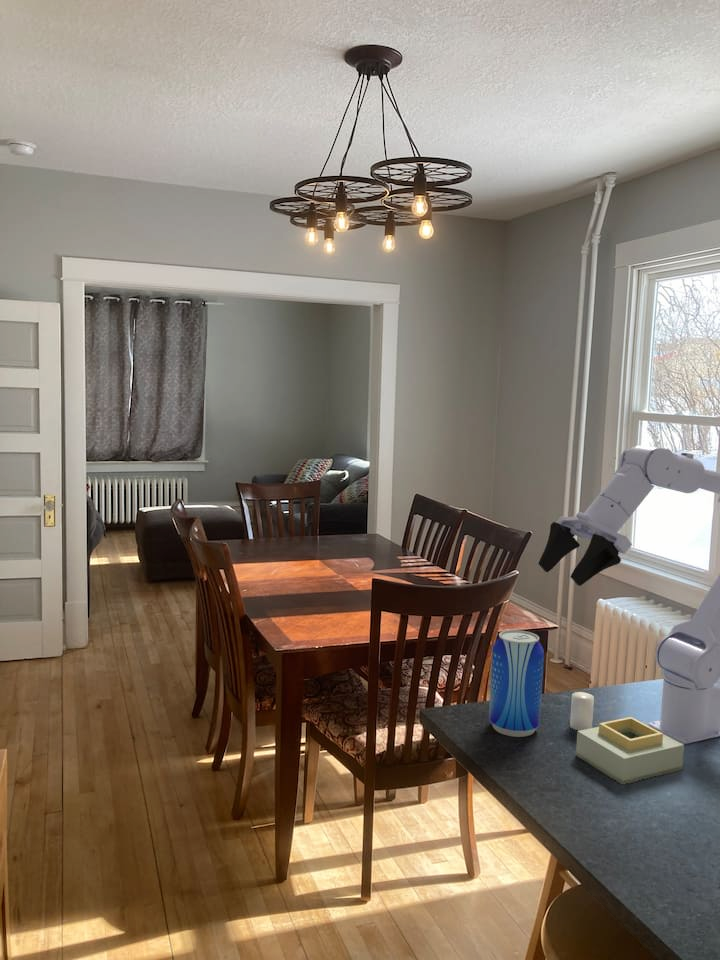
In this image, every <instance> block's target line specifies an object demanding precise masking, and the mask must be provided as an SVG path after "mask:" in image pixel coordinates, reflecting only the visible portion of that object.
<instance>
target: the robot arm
mask: <svg viewBox="0 0 720 960" xmlns="http://www.w3.org/2000/svg"><path fill="white" fill-rule="evenodd" d="M694 456H695V455H694V454H693V453H690V452H681V453H680V454H678V453H675V452H673V451H672V450H671V449H670V448H668V447H662V446H661V447H653V446H646V445H635V446H631V448H629V449H628V450H625V449H624V450H623V451H622V453H621V455H620V458H619V462H618V463H619V464H618V467H617V469H616V470H615V471H614V473H613V474H614V475H613V476H612V478H611V479H610V480H609V482H607V484H606V485H605V486H604V487H603V489H602V490H601V491H600V492H599V494H598V495H597V496H596V497H595V499H594V500H593V501H592V503H590V504H589V506H588V508H587V509H586V510H585V511H584V512H580V511H578V512H577V513H576V514H575V516H563V515H561V516H560V517H559V518H558V519H557V521H556V522H555V521H553V522H552V523H551V524H550V528H549V535H548V539H547V543H546V546H545V548H544V550H543V552H542V554H541V556H540V558H539V561H538V563H537V564H538V566H540V567H541V569H542V570H543V571H544V572H546V573H549V572H551V570H553V569H554V568H555V567H556V565H557V564H558V563H559V562H560V561H561V560H562V559H563V558H564V557H565V556H567V555H569V553H570V552H572V551H574V550H575V549H578V548H579V547H580V546H581V544H580V543H579V542H578V540H576V538H575V536H577V537H579V538H582V539H585V540H588V541H590V542H589V544H588V547H587V549H586V551H585V553H584V555H583V557H582V558H581V559H580V561H579V562H578V563H577V565H576V566H575V567H574V569H573V571H572V573H571V575H570V577H569V578H570V579H572V580H573V582H574V583H575V584H576V585H577V586H579V587H581V586H582V585H584V584H585V583H587V582H588V581H589V580H591V579H592V578H593V577H595V576H596V575H598V574H599V573H601V572H603V571H604V570H606V569H609V568H611V567H613V566H617V565H619V564H620V563H621V562H622V558H621V557H620V556H619V553H621V554H623V555H625V554H626V553H627V552H628V551H629V550H630V548H631V547H632V545H633V544H632V541H630V540H629V538H628V537H627V536H626V535H623V534H621V533H619V531H620V530H621V528H623V526H624V525H625V524H626V522H627V521H628V520H629V518H630V517H631V516H632V515H633V514H634V512H636V510H637V509H638V507H639V506H640V505H641V504H642V503H643V502H644V500H645V498H647V496H648V495H649V494H650V493H651V491H652V490H653V489H654V487H655V486H656V487H658V488H659V487H660V488H664V489H668V490H672V491H676V492H680V493H684V494H692V493H694V492H697V490H699V489H701V490H703V491H708V492H710V493H714V494H718V495H719V497H718V503H719V504H720V472H717V471H712V470H709V469H706V468H705V466H704V464H703V462H702V461H700V460H699V459H697V458H694ZM654 659H655V662H656V664H657V666H658V667H659V668H660V675H661V676H662V677H663V685H662V692H661V693H662V696H661V705H660V706H661V708H660V709H661V710H660V720H655V721H650V722H648V723H647V725H648V726H649V727H651V728H653V729H655V730H657V731H659V732H661V733H663V734H665V735H666V736H668V737H670V738H672V739H674V740H676V741H678V742H680V743H682V744H684V745H687V744H692V743H695V742H699V741H704V740H709V739H713V738H717V737H720V685H719V684H718V681H719V680H720V573H719V575H718V576H717V578H716V579H715V580H714V582H713V584H712V585H711V586H710V589H709V590H708V592H707V593H706V595H705V596H704V599H703V600H702V601H701V603H700V604H699V606H698V608H697V610H696V611H695V613H694V614H693V616H692V618H691V619H690V620H688V621H684V622H681V623H677V624H676V625H674V626H673V627H672V628H671V631H670V632H669V633H668V634H666V635H665V636H663V637H662V638H661V639H660V640H659V641H658V644H657V645H656V647H655V652H654Z"/></svg>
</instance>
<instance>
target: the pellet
mask: <svg viewBox="0 0 720 960" xmlns="http://www.w3.org/2000/svg"><path fill="white" fill-rule="evenodd" d="M594 703H595V696H594V695H592V694H590V693H587V692H584V691H577V692H576V691H575V692H573V693H571V704H570V717H569V719H570V720H569V728H571V729H572V728H573V729H572V730H574V729H575V730H574V731H576V730H578V731H580V730H585V729H590V728H593V719H594V717H593V715H594V705H595V704H594Z"/></svg>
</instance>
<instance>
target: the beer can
mask: <svg viewBox="0 0 720 960" xmlns="http://www.w3.org/2000/svg"><path fill="white" fill-rule="evenodd" d="M544 651H545V650H544V648H543V647H542V644H541V642H540V637H539V635H538V634H536V633H533V632H530V631H526V630H521V629H520V630H519V629H507V630H503V631H500V632H499V634H498V637H497V639H496V641H495V642H494V643H493V646H492V653H491V673H490V687H489V688H490V692H489V707H488V721H489V723H491V725H492V727H493V729H494V730H495V731H496V732H497V733H499V734H501V735H505V736H507V737H513V738H515V737H517V738H523V737H529V736H531V735H533V734H534V733H535V731H536V730H537V729H538V728H539V727H540V724H541V707H542V691H543V678H544V677H543V674H544V661H545V660H544V659H545V652H544Z"/></svg>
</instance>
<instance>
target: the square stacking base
mask: <svg viewBox="0 0 720 960" xmlns="http://www.w3.org/2000/svg"><path fill="white" fill-rule="evenodd" d="M576 732H577V733H576V749H575V757H577V758H579V759H581V760H582V761H584V762H585V763H586V764H587V763H588V765H590V766H592V767H593V768H595V769H596V770H597V771H598V770H599V771H600V772H601V773H603V774H604V775H605V776H608V777H609V778H611V779H612V778H613V779H612V780H614V781H615V780H616V782H617V783H619V784H620V785H622V786H623V784H624V785H627V784H626V783H628V784H631V782H632V783H635V781H636V782H639V780H640V781H643V780H642V779H644V780H647V778H648V779H651V778H650V777H652V778H655V777H654V776H656V777H659V775H660V776H662V775H663V774H664V775H667V773H668V774H671V773H676V772H679V771H682V770H683V763H684V761H683V760H684V752H685V751H684V750H685V744H683V743H681V742H679V741H677V740H675V739H673V738H671V737H669V736H667V735H665V734H663V733H662V732H660V731H658V730H656V729H654V728H652V727H650V726H649V725H648V724H645V723H643V722H642V721H640V720H638V719H636V718H634V717H632V716H629V717H625V718H619V719H614V720H608V721H603V722H600V723H598V726H596V727H592V728H590V729H585V730H580V731H576Z"/></svg>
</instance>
